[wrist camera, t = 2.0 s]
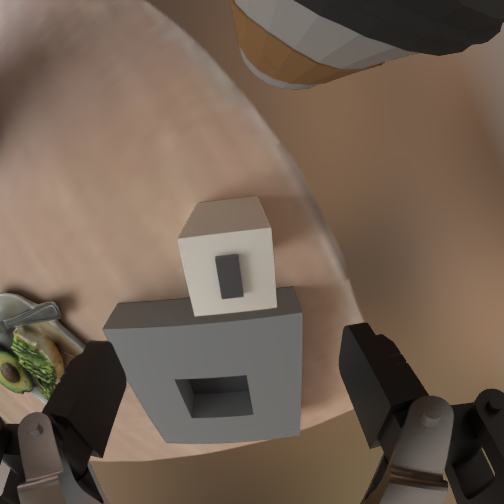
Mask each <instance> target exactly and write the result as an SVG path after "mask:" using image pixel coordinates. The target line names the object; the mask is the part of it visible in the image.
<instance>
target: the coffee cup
mask: <svg viewBox="0 0 504 504" xmlns="http://www.w3.org/2000/svg"><path fill="white" fill-rule="evenodd" d="M230 2H231V8H232V13H233V19H234V25H235V31H236V35H237V39H238V43H239V47H240V51H241V55H242V58H243V60H244V62H245V63H246V65H247V67H248V68H249V69H250V70H251V71H252V72H253V73H254V74H255V75H256V76H257V77H258V78H260V79H262V80H263V81H265V82H267V83H268V84H270V85H273V86H276V87H279V88H282V89H291V90H299V89H308V88H311V87H313V86H316V85H318V84H321V83H327V82H329V81H332V80H335V79H338V78H341V77H344V76H347V75H350V74H352V73H356V72H359V71H362V70H366V69H369V68H372V67H376V66H379V65H382V64H383V63H385V62H386V61H389V60H394V59H397V58H401V57H405V56H409V55H413V54H417V53H425V54H431V55H437V56H441V55H446V54H453V53H458V52H463V51H464V50H465V49H466V48H468V47H469V46H471V45H473V44H482V43H485V42H488V41H489V40H490V39H492V38H493V37H494V36H495V35H496V34H497V33H499V32H500V29H501V26H502V23H503V22H504V0H230Z"/></svg>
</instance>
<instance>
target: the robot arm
mask: <svg viewBox="0 0 504 504" xmlns="http://www.w3.org/2000/svg"><path fill="white" fill-rule="evenodd" d="M339 370H340V374H341V377H342V380H343V382H344V384H345V387H346V389H347V392H348V394H349V397H350V399H351V402H352V404H353V407H354V409H355V412H356V414H357V417H358V419H359V422H360V424H361V427H362V429H363V432H364V435H365V437H366V440H367V442H368V445H369V448H370V449H371V448H375V447H378V446H381V447H382V449H383V451H384V453H383V455H382V457H381V460H380V462H379V465H378V467H377V469H376V472H375V474H374V476H373V478H372V480H371V483H370V485H369V487H368V489H367V491H366V493H365V495H364V497H363V499H362V501H361V503H360V504H444V502H445V499H446V496H447V492H448V482H447V481H445V480H443V473H444V471H445V473H446V476H447V478H448V481H449V483H450V486H451V488H452V491H453V494H454V496H455V499H456V502H457V504H504V393H503V392H501V391H499V390H497V389H486V390H484V391H483V392H481V393H480V394H479V395H478V397H477V398H476V400H475V401H474V402H473V403H466V404H459V405H450V404H449V403H448V402H447V401H446V400H444V399H442V398H440V397H437V396H429V394H428V393H427V392H426V390H425V389H424V387H423V385H422V384H421V382H420V381H419V379H418V378H417V376H416V375H415V373H414V372H413V370H412V369H411V367H410V366H409V364H408V363H406V360H405V358H404V357H403V355H402V354H400V351H399V349H398V348H397V347H396V345H395V344H394V342H393V341H391V340H390V339H388V338H387V337H385V336H384V335H382V334H380V335H375V333H374V332H373V330H372V329H371V327H370V326H369V324H368V323H366V322H365V323H359V324H353V325H347V326H345V327H344V329H343V335H342V342H341V349H340V355H339ZM125 388H126V374H125V371H124V369H123V367H122V365H121V363H120V360H119V358H118V356H117V354H116V351H115V349H114V347H113V345H112V343H111V342H109V341H90V342H89V343H88V344H87V346H86V347H85V349H84V351H83V352H82V354H79V355H78V356H76V357H75V358H74V359H73V360H72V361H71V362H70V363H69V365H68V366H67V368H66V370H65V371H64V374H63V375H62V377H61V378H60V382H58V384H57V385H56V387H55V389H54V391H53V392H52V394H51V396H50V398H49V400H48V402H47V404H46V405H45V407H44V409H43V411H42V413H40V412H34V413H31V414H29V415H27V416H26V417H24V418H23V419H22V421H21V422H20V424H6V423H5V422H4V421H3V420H2V418H1V417H0V464H1V461H3V462H4V463H5V464H6V465H7V466H8V467H9V468H11V469H10V472H9V475H8V478H7V481H6V484H5V487H4V491H3V494H2V495H1V496H0V504H110V503H109V501H108V499H107V498H106V495H105V493H104V491H103V489H102V487H101V485H100V483H99V481H98V479H97V477H96V474H95V472H94V470H93V467H92V465H91V464H90V462H89V458H90V455H91V456H95V457H99V458H103V455H104V452H105V448H106V445H107V442H108V439H109V435H110V432H111V429H112V426H113V423H114V420H115V417H116V414H117V411H118V408H119V405H120V402H121V400H122V397H123V394H124V391H125ZM482 448H483V449H484V451H485V453H486V455H487V457H488V459H489V461H490V463H491V465H492V467H493V470H494V472H495V476H494V474H493V473H492V470H491V468H490V466H489V464H488V462H487V459H486V457H485V456H484V453H483V451H482Z"/></svg>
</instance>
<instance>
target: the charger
mask: <svg viewBox="0 0 504 504" xmlns="http://www.w3.org/2000/svg"><path fill="white" fill-rule="evenodd" d="M178 244H179V249H180V254H181V259H182V264H183V268H184V273H185V277H186V282H187V286H188V291H189V295H190V299H191V303H192V307H193V312H194V316H205V315H216V314H226V313H235V312H244V311H253V310H261V309H270V308H277V299H276V284H275V270H274V256H273V243H272V230H271V226H270V223H269V221H268V219H267V217H266V214H265V212H264V210H263V207H262V205H261V203H260V200H259V198H258V196H253V197H244V198H236V199H227V200H219V201H211V202H204V203H197V204H196V206H195V208H194V210H193V212H192V213H191V215H190V217H189V219H188V220H187V222H186V224H185V226H184V228H183V230H182V231H181V233H180V235H179V237H178Z"/></svg>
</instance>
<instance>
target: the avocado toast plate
mask: <svg viewBox="0 0 504 504" xmlns="http://www.w3.org/2000/svg"><path fill="white" fill-rule="evenodd" d="M61 316H62V312H61V309H60V307H59V305H58V304H57V303H56V302H54V301H47V302H44V303H41V304H36V303H34V302H32V301H30V300H28V299H26V298H24V297H22V296H21V295H18V294H13V293H4V292H1V293H0V383H1V384H2V385H3V386H5V387H6V388H7V389H9V390H11V391H13V392H15V393H21V394H24V392H25V391H26V392H31V393H32V394H33V395H34V396H35V397H37V398H38V399H39V400H40V401H42V402H43V403H44V404H45V405H46V404H47V402H48V400H49V398H50V396H51V394H52V392H53V391H54V389H55V387H56V385H57V384H58V382H60V378H61V377H62V375H63V374H64V371H65V369H64V368H65V366H64V361H63V359H65V354H64V352H65V351H66V352H69V353H70V354H72V355H74V356H78V355H79V354H82V352H83V351H84V349H85V347H86V346H87V345H86V344H85V343H84V342H83V341H81V340H80V339H79V338H78V337H77V336H76V335H74V334H73V333H72V332H71V331H69V330H68V329H67V328H66V327H65V326H64V325H62V324H61V323H60V322H59V321H58V320H57V319H60V318H61Z"/></svg>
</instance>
